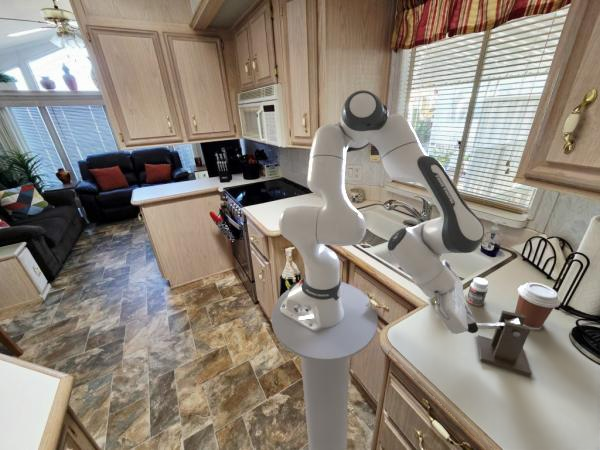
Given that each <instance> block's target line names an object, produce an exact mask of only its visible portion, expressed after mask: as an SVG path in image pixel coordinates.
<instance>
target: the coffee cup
mask: <svg viewBox="0 0 600 450" xmlns="http://www.w3.org/2000/svg"><path fill="white" fill-rule="evenodd" d="M517 293H518V299H517V303H516V307H515V311H514V313H516V314H520V315H524V316H525V318H526V319H525V321H524V323H523V326H526V327H529V328H530V330H535V331H536V330H537V331H538V330H541V329H542V327H543V325H544V324H545V323H546V321H547V319H548V318H549V316H550V314H551V313H552V311H553V310H554V308H559V306H560V305H561V303H562V300H561V298H560V297H559V294H558V292H557V291H556V290H555V289H554V288H552V287H551V286H548V285H546V284H543V283H540V282H536V281H535V282H532V281H530V282H526V283H525V284H521V285H520V286H519V287H518V288H517Z"/></svg>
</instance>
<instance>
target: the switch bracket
mask: <svg viewBox="0 0 600 450" xmlns="http://www.w3.org/2000/svg"><path fill="white" fill-rule="evenodd" d="M507 318H519V321H520V324H521V325H518V324H514V323H510V322H506V323H505V325H504V328H503V329H494V333H493V336H492V338H489V337H486V336H484V335H483V336H482V335H480V334H477V336H476V340H477V347H478V354H479V360H480V362H482V363H485V364H487V365H488V364H489V365H491V366H495V367H498V368H501V369H504V370H507V371H510V372H513V373H516V374H520V375H522V376H526V377H531V376H532V375H533V374H532V370H531V368H530V365H529V361H528V359H527V356H526V352H525V349H524V346H525V344H526V341H527V339H528V336H529V334H530V332H531V329H530V328H529V327H526V326H523V323H524V321H525V319H526V318H525V316H524V315H520V314H516V313H515V312H512V311H508V310H507V311H506V310H501V313H500V317H499V319H498V322H497V323H502V322H505V319H507Z"/></svg>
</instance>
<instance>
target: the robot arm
mask: <svg viewBox="0 0 600 450" xmlns="http://www.w3.org/2000/svg"><path fill="white" fill-rule="evenodd" d="M370 144H371V145H373V146H374V147H375V148H376V150H377V151H378V154H379V157H380V160H381V163H382V165H383V168H384V171H385V172H386V174H387V176H388V177H389V178H390V179H392V180H394V181H397V182H401V183H417V184H420V185H422V186H423V188H425V189H426V191H427V192H428V195H429V196H430V198H431V199H432V201H433V204H434V205H435V207H436V208H437V210H438V212H439V214H440V216H439V217H435V218H432V219H428V220H425V221H423V222H420V223H418V224H416V225H413V226H410V227H403V228H400V229H398V230H396V231H395V232H394V233H393V234H392V235H391V237H390V238H389V240H388V242H387V251H388V253H389V255H390V256H391V258H392V259H393V260H394V262H395V263H396V264H397V265H398V266H399V268H400V269H401V270H402V271H403V272H404V273H406V274H407V275H409V276H410V278H411V280H412V281H413V283H414V284H415V285H416V286H417V287H418V288H419V289H420V291H421V292H422V293H423V294H424V295H425V296H426V297H427V298H431V299H432V298H433V297H435V301H434V303H435V305H434V310H435V313H436V315H437V317H438V318H439V320H440V321H441V322H442V323H443V324H444V325H445V327H446V328H447V329H448V330H449V332H450V333H451V334H453V335H460V334H463V333H466V332H468V324H471V323H474V322H475V318H474V313H473V312H472V311H471V310H470V309H469V305H468V304H467V303H466V301H465V300H466V299H465V294H464V285H463V282H462V280H461V278H460V277H459V275H458V274H457V273H456V272H455V270H454V269H453V268H452V267H451V264H450V263H449V261H447V259H443V260H441V259H440V258H441V256H442V255H446V254H470V253H473V252H475V251H476V250H477V249H478V248H479V247H480V246H481V244H482V242H483V240H484V237H485V227H484V224H483V223H482V221H481V219H480V218H479V217H478V216H477V215H476V214H475V213H474V211H472V210H471V208H470V207H469V206H468V204H467V202H466V201H465V199H464V197H463V196H462V195H461V192H460V191H459V190H458V188H457V186H456V185H455V183H454V181H453V180H452V178H451V176H450V175H449V173H448V171H447V170H446V168H445V167H444V166H443V164H442V163H441V162H440V161H439V160H438V158H436V157H435V156H432V155H429V154H427V152H426V151H425V150H424V148H423V147H422V144H421V143H420V140H419V138H418V135H417V133H416V132H415V130H414V128H413V127H412V125H411V123H410V122H409V121H408V119H407V118H406V116H405V115H402V114H398V113H394V114H390V115H389V108H388V107H387V106H386V105H385V104H383V102H382V101H381V99H380V98H379V97H378V96H377V95H376V94H375V93H373V92H371V91H369V90H366V89H365V90H363V89H361V90H356V91H354V92H352V93H350V95H349V96H348V97H347V98H346V100H345V101H344V104H343V106H342V109H341V117H340V121H338V122H337V123H335V124H332V123H331V124H324V125H322V126H321V125H320V127H318V128H317V130H316V131H315V133H314V136H313V139H312V143H311V146H310V147H311V148H310V151H309V159H308V169H307V177H306V185H307V187H308V189H309V191H311V192H312V193H313V194H314V195H317V196H318V197H320V198H322V199H323V201H324V205H323V206H310V205H309V206H308V205H297V206H292V207H291V206H290V207H287V208H285V209H284V210H283V211H282V213H281V214H280V216H279V219H278V228H279V231H280V233H281V235H282V237H283V238H285V239H286V240H287V241H289V242H290V243H291V244H292V245H293V246H294V247H295V249H296V250H297V251H298V253H299V255H300V256H301V258H302V261H303V266H304V274H303V275H302V276H301V278H300V280H299V281H298V282H297V281H296V282H295V283H293V284H291V285H290V286H289V287H288V290H289V294H288V296H287V297H286V298H285V300H284V301H283V303H282V305H281V314H282V315H284V316H286V317H288V318H289V319H291V320H293V321H295V322H296V323H298V324H300V325H302V326H303V327H305V328H307V329H308V330H310V331H312V332H316V331H318V330H320V329H322V328H328V327H332V326H335V325H337V324H338V323H339V322H340V321H341V320H342V319H343V317H344V309H343V306H342V303H341V297H340V295H341V282H342V279H341V277H340V272H341V269H340V268H341V267H340V258H339V256H338V255H337V254H336V252H335V251H334V250H332V249H330V248H329V247H328V246H336V247H349V246H356V245H359V244H360V243H361V242H362V241H363V239H364V237H365V235H366V233H367V223H366V219H365V217H364V216H363V214H362V212H360V211H359V210H358V209H357V208H356V207H355V206H354V205H353V204H352V202H351V201H350V199H349V198H348V194H347V192H346V185H345V184H346V165H347V155H348V153H349V152H350V153H351V152H357V151H361V150H364V149H366V147H368V146H369V145H370Z"/></svg>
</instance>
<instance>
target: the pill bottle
mask: <svg viewBox="0 0 600 450" xmlns="http://www.w3.org/2000/svg"><path fill="white" fill-rule="evenodd" d="M488 287H489V281H488V280H487V279H485V278H483V277H478V276H477V277H474V278H473V280H472V282H471V283H470V285H469V288H468V292H467V295H466V301H467V302H468V303H470V304H472V305H474V306H482V305H484V303H485V299H486V296H487V293H488V289H489V288H488Z"/></svg>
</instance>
